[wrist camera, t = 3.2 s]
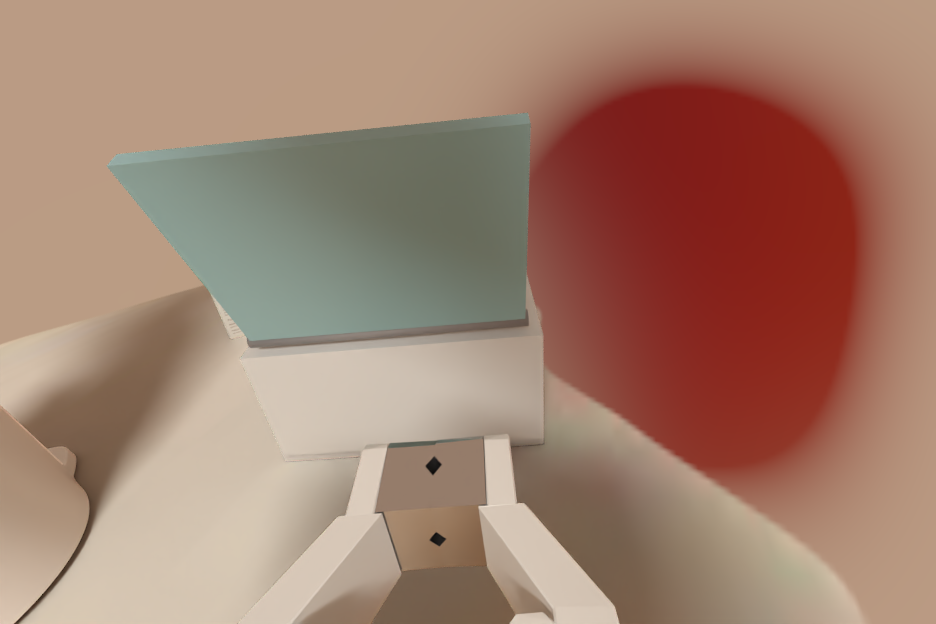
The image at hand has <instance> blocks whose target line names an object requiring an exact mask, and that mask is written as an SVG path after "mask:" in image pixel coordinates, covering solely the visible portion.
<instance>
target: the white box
mask: <svg viewBox="0 0 936 624" xmlns="http://www.w3.org/2000/svg"><path fill="white" fill-rule="evenodd" d="M526 309H527V310H528V316H529V326H522V327H510V328H497V329H485V330H472V331H460V332H447V333H435V334H422V335H410V336H397V337H385V338H372V339H360V340H347V341H335V342H322V343H309V344H297V345H284V346H272V347H259V348H250V347H248V348H247V349H246V351H245V352H244V353H243V355H242V356H241V358H240V361H241V363H242V366H243V368H244V370H245V372H246V375H247V377H248V379H249V381H250V383H251V386H252V388H253V390H254V392H255V395H256V397H257V399H258V401H259V404H260V406H261V408H262V410H263V412H264V415H265V417H266V419H267V421H268V424H269V426H270V428H271V430H272V432H273V435H274V437H275V439H276V441H277V444H278V446H279V448H280V450H281V452H282V455H283V457H284V459H285V461H286V462H290V461H305V460H319V459H334V458H349V457H361V454H362V451H363V449H364V448H365V446H366V445H371V444H389V443H400V442H418V441H437V440H442V439H453V438H464V437H475V436H487V435H499V434H508V435H509V438H510V446H525V445H540V444H544V369H543V332H542V328H541V325H540V321H539V317H538V314H537V310H536V306H535V303H534V299H533V295H532V292H531V288H530V285H529V281H528V277H527V273H526Z"/></svg>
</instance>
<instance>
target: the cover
mask: <svg viewBox="0 0 936 624" xmlns="http://www.w3.org/2000/svg"><path fill="white" fill-rule="evenodd" d="M529 160H530V120H529V116H528V113H522V114H513V115H503V116H492V117H482V118H472V119H462V120H454V121H453V120H452V121H444V122H443V121H442V122H432V123H424V124H414V125H404V126H393V127H383V128H373V129H363V130H354V131H343V132H333V133H324V134H314V135H304V136H294V137H284V138H274V139H264V140H255V141H244V142H234V143H224V144H215V145H204V146H195V147H186V148H175V149H166V150H155V151H145V152H135V153H126V154H117V155H116V156H115V157H114V158H113V159H112V160H111V161H110V163H109V164H108V165H107V167H108V168H109V169H110V171H111V172H112V173H113V174H114V176H115V177H116V178H117V179H118V180H119V182H120V183H121V184H122V185H123V187H124V188H125V189H126V190H127V191H128V193H129V194H130V195H131V196H132V197H133V199H134V200H135V201H136V202H137V204H138V205H139V206H140V207H141V208H142V210H143V211H144V212H145V213H146V214H147V216H148V217H149V218H150V219H151V221H152V222H153V223H154V224H155V226H156V227H157V228H158V229H159V231H160V232H161V233H162V234H163V235H164V237H165V238H166V239H167V240H168V241H169V243H170V244H171V245H172V246H173V248H174V249H175V250H176V251H177V253H178V254H179V255H180V256H181V257H182V259H183V260H184V261H185V262H186V264H187V265H188V266H189V267H190V268H191V270H192V271H193V272H194V273H195V275H196V276H197V277H198V278H199V279H200V281H201V282H202V283H203V284H204V286H205V287H206V288H207V289H208V290H209V292H210V293H211V294H212V295H213V297H214V298H215V299H216V300H217V301H218V303H219V304H220V305H221V306H222V308H223V309H224V310H225V311H226V312H227V314H228V315H229V316H230V317H231V319H232V320H233V321H234V322H235V324H236V325H237V326H238V327H239V328H240V330H241V331H242V332H243V333H244V335H245V336H246V337H247V343H248V345H249V347H250V348H259V347H272V346H284V345H297V344H309V343H322V342H335V341H347V340H360V339H372V338H385V337H397V336H410V335H422V334H435V333H447V332H460V331H472V330H485V329H497V328H510V327H522V326H529V316H528V310H527V309H526V272H527V271H526V270H527V236H528V197H529Z"/></svg>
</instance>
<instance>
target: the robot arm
mask: <svg viewBox="0 0 936 624" xmlns="http://www.w3.org/2000/svg"><path fill="white" fill-rule="evenodd" d="M75 468H76V456H75V455H74V454H73V453H72V452H71V451H70V450H69V449H68V448H67V447H64V446H58V447H52V448H46V447H45V446H44V445H43V444H42V443H41V442H39V441H38V440H37V439H36V438H35V437H34V436H33V435H32V434H31V433H30V432H29V431H28V430H27V429H26V428H25V427H23V426H22V425H21V424H20V423H19V422H18V421H17V420H16V419H15V418H14V417H13V416H12V415H10V414H9V413H8V412H7V411H6V410H5V409H4V408H3V407H2V406H1V405H0V624H14V623H15V622H16V621H17V620H18V619H19V618H20V617H21V616H22V615H23V614H24V613H25V612H26V611H27V610H28V609H29V608H30V607H31V606H32V605H33V604H34V603H35V602H36V601H37V600H38V598H39V597H40V596H41V595H42V594H43V593H44V592H45V591H46V589H47V588H48V587H49V586H50V585H51V583H52V582H53V581H54V580H55V578H56V577H57V576H58V575H59V573H60V572H61V571H62V569H63V568H64V566H65V565H66V564H67V562H68V561H69V559H70V558H71V556H72V554H73V553H74V551H75V549H76V548H77V546H78V544H79V542H80V540H81V538H82V536H83V533H84V531H85V528H86V525H87V522H88V517H89V500H88V496H87V494H86V492H85V491H84V489H83V488H82V487H81V486H80V485H79V484H78V483H77V482H76V480H75V478H74V473H75ZM462 566H487V568H488V570H489V571H490V573H491V575H492V576H493V578H494V580H495V581H496V583H497V585H498V586H499V588H500V589H501V591H502V593H503V594H504V596H505V598H506V599H507V601H508V603H509V604H510V606H511V608H512V609H513V611H514V613H515V614H516V615H515V616H514V618H513V619H512V621H511V622H510V623H509V624H619V620H618V616H617V613H616V609H615V606H614V605H613V604H612V602H611V601H610V600H609V599H608V598H607V597H606V596H605V594H604V593H603V592H602V591H601V590H600V589H599V588H598V586H597V585H596V584H595V583H594V582H593V581H592V580H591V578H590V577H589V576H588V575H587V574H586V573H585V571H584V570H583V569H582V568H581V567H580V566H579V565H578V563H577V562H576V561H575V560H574V559H573V558H572V557H571V555H570V554H569V553H568V552H567V551H566V550H565V549H564V547H563V546H562V545H561V544H560V543H559V542H558V541H557V539H556V538H555V537H554V536H553V535H552V534H551V532H550V531H549V530H548V529H547V528H546V527H545V526H544V524H543V523H542V522H541V521H540V520H539V519H538V518H537V516H536V515H535V514H534V513H533V512H532V511H531V510H530V508H529V507H528V506H527V505H526V504H525V503H517V498H516V490H515V481H514V472H513V464H512V455H511V446H510V438H509V435H508V434H499V435H487V436H475V437H464V438H453V439H442V440H437V441H418V442H400V443H389V444H371V445H366V446H365V448H364V449H363V451H362V454H361V457H360V461H359V465H358V469H357V473H356V476H355V480H354V484H353V488H352V492H351V495H350V499H349V503H348V507H347V511H346V514H345V516H338V517H337V518H336V519H335V520H334V521H333V522H332V523H331V524H330V525H329V526H328V527H327V528H326V529H325V530H324V531H323V533H322V534H321V535H320V536H319V537H318V538H317V539H316V540H315V541H314V542H313V543H312V544H311V545H310V546H309V547H308V549H307V550H306V551H305V552H304V553H303V554H302V555H301V556H300V557H299V558H298V559H297V560H296V561H295V562H294V563H293V565H292V566H291V567H290V568H289V569H288V570H287V571H286V572H285V573H284V574H283V575H282V576H281V577H280V578H279V579H278V581H277V582H276V583H275V584H274V585H273V586H272V587H271V588H270V589H269V590H268V591H267V592H266V593H265V594H264V595H263V597H262V598H261V599H260V600H259V601H258V602H257V603H256V604H255V605H254V606H253V607H252V608H251V609H250V610H249V611H248V613H247V614H246V615H245V616H244V617H243V618H242V619H241V620H240V621H239V622H238V623H237V624H371V623H372V622H373V620H374V618H375V617H376V615H377V613H378V612H379V610H380V609H381V607H382V605H383V604H384V602H385V600H386V599H387V597H388V596H389V594H390V592H391V591H392V589H393V587H394V586H395V584H396V583H397V581H398V579H399V578H400V576H401V571H409V570H419V569H430V568H440V567H462Z"/></svg>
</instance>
